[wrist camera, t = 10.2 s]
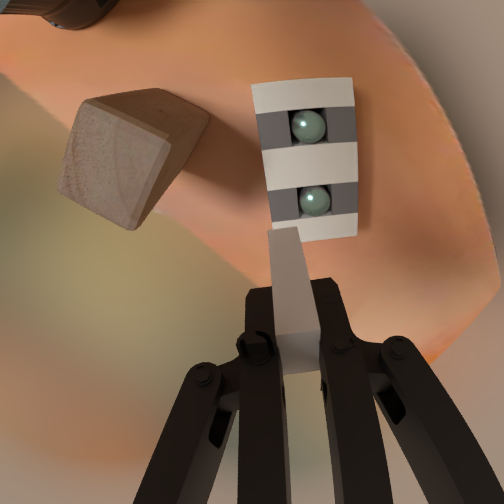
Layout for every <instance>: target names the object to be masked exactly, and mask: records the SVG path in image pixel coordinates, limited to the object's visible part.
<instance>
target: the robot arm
mask: <svg viewBox="0 0 504 504" xmlns="http://www.w3.org/2000/svg"><path fill="white" fill-rule="evenodd" d="M118 1H119V0H0V14H19V15H36V16H41V17H42V18H44V19H45V20H46V21H48V22H49V23H50V24H51V25H53V26H54V27H57V28H60V29H67V30H77V29H81V28H85V27H87V26H89V25H91V24H93V23H95V22H97V21H98V20H100V19H101V18H102V17H104V16H105V15H106V14H107V13H108V12H109V11H110V10H111V9H112V8H113V7H114V6H115V5H116V4H117V2H118ZM268 242H269V254H270V267H271V280H272V286H270V287H262V288H254V289H250V291H249V293H248V294H247V296H246V302H245V308H246V309H245V332H244V333H242V334H241V335H240V337H239V338H238V339H237V343H236V347H237V350H238V352H239V356H238V357H236V358H235V359H234V360H232V361H230V362H227V363H224V364H222V365H219V366H216V365H215V364H212V363H210V362H202V363H199V364H196V365H195V366H193V367H192V368H191V369H190V370H189V371H188V373H187V375H186V377H185V379H184V381H183V384H182V386H181V389H180V391H179V393H178V396H177V398H176V400H175V403H174V405H173V407H172V410H171V412H170V414H169V417H168V419H167V422H166V424H165V427H164V429H163V431H162V434H161V436H160V439H159V441H158V443H157V446H156V448H155V450H154V453H153V455H152V458H151V460H150V462H149V465H148V467H147V470H146V472H145V475H144V477H143V480H142V482H141V484H140V487H139V489H138V492H137V494H136V497H135V499H134V502H133V504H207V501H208V498H209V495H210V492H211V489H212V487H213V483H214V480H215V478H216V474H217V472H218V468H219V465H220V462H221V459H222V456H223V453H224V450H225V447H226V444H227V441H228V438H229V434H230V431H231V428H232V425H233V422H234V418H235V415H236V412H237V410H239V447H238V448H239V449H238V498H237V501H238V502H237V504H291V484H290V465H289V448H288V433H287V432H288V431H287V416H286V401H285V388H284V382H283V375H287V374H295V373H302V372H310V371H316V370H320V372H321V391H322V393H323V400H324V407H325V414H326V422H327V430H328V438H329V446H330V455H331V464H332V473H333V484H334V494H335V504H393V499H392V491H391V485H390V478H389V472H388V466H387V460H386V454H385V449H384V444H383V439H382V434H381V429H380V424H379V420H378V416H377V411H376V406H375V402H374V398H375V400H376V402H377V404H378V405H379V407H380V409H381V411H382V413H383V415H384V417H385V418H386V420H387V422H388V424H389V426H390V428H391V430H392V432H393V434H394V436H395V437H396V439H397V441H398V443H399V445H400V447H401V449H402V451H403V453H404V455H405V457H406V459H407V460H408V462H409V465H410V466H411V469H412V470H413V473H414V474H415V477H416V479H417V480H418V483H419V485H420V487H421V489H422V491H423V493H424V495H425V497H426V499H427V501H428V503H429V504H504V491H503V489H502V487H501V485H500V483H499V481H498V479H497V477H496V475H495V473H494V471H493V469H492V467H491V465H490V464H489V462H488V460H487V458H486V456H485V454H484V453H483V451H482V449H481V447H480V445H479V444H478V442H477V440H476V438H475V437H474V435H473V433H472V432H471V430H470V428H469V426H468V425H467V423H466V422H465V420H464V418H463V417H462V415H461V413H460V412H459V410H458V409H457V407H456V405H455V404H454V402H453V401H452V399H451V398H450V396H449V395H448V393H447V392H446V390H445V388H444V387H443V385H442V384H441V382H440V381H439V379H438V378H437V377H436V375H435V374H434V372H433V371H432V369H431V368H430V366H429V365H428V363H427V362H426V361H425V359H424V358H423V356H422V355H421V353H420V352H419V351H418V349H417V348H416V347H415V345H414V344H413V343H412V342H411V341H410V340H409V339H408V338H406V337H403V336H393V337H389V338H388V339H386V340H385V341H384V342H383V343H373V342H366V341H363V340H361V339H359V338H358V337H356V336H355V334H354V333H353V332H352V329H351V327H350V323H349V320H348V317H347V313H346V310H345V307H344V303H343V300H342V297H341V295H340V291H339V288H338V285H337V284H336V283H335V281H334V280H333V279H332V278H331V277H329V278H323V279H316V280H310V278H309V274H308V270H307V265H306V261H305V257H304V253H303V248H302V244H301V240H300V236H299V232H298V228H297V226H295V227H288V228H281V229H273V230H268ZM373 396H374V398H373Z"/></svg>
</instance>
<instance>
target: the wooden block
mask: <svg viewBox="0 0 504 504" xmlns="http://www.w3.org/2000/svg"><path fill="white" fill-rule="evenodd" d="M209 120H210V115H209V114H208V113H207V112H206V111H204V110H202V109H200V108H198V107H196V106H194V105H192V104H190V103H188V102H186V101H184V100H182V99H180V98H178V97H176V96H174V95H172V94H170V93H168V92H165V91H163V90H161V89H159V88H150V89H142V90H135V91H129V92H122V93H116V94H111V95H106V96H100V97H96V98H91V99H86V100H85V101H84V102H83V103H82V104H81V105H80V107H79V109H78V111H77V114H76V117H75V120H74V123H73V126H72V130H71V133H70V136H69V140H68V143H67V147H66V150H65V154H64V158H63V162H62V166H61V170H60V174H59V179H58V183H57V187H58V191H59V192H60V193H61V194H62V195H64V196H65V197H67V198H69V199H71V200H73V201H74V202H76V203H78V204H80V205H81V206H83V207H85V208H87V209H89V210H91V211H92V212H94V213H96V214H98V215H100V216H102V217H104V218H105V219H107V220H109V221H111V222H113V223H115V224H117V225H118V226H120V227H122V228H124V229H126V230H131V231H134V230H136V229H137V228H138V227H139V226H141V224H142V223H143V221H144V220H145V218H146V217H147V215H148V214H149V213H150V211H151V210H152V209H153V207H154V206H155V204H156V203H157V202H158V200H159V199H160V198H161V196H162V195H163V194H164V192H165V191H166V190H167V188H168V187H169V186H170V184H171V183H172V182H173V180H174V179H175V178H176V176H177V175H178V174H179V173H180V171H181V170H182V169H183V167H184V166H185V164H186V162H187V160H188V158H189V156H190V154H191V153H192V151H193V149H194V147H195V145H196V143H197V142H198V140H199V138H200V136H201V135H202V133H203V131H204V129H205V128H206V126H207V124H208V122H209Z"/></svg>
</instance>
